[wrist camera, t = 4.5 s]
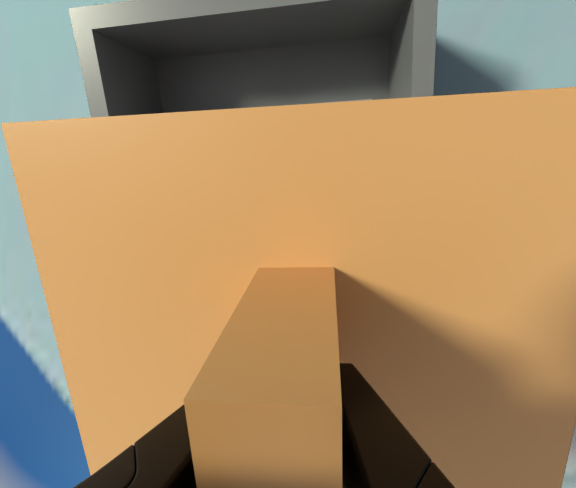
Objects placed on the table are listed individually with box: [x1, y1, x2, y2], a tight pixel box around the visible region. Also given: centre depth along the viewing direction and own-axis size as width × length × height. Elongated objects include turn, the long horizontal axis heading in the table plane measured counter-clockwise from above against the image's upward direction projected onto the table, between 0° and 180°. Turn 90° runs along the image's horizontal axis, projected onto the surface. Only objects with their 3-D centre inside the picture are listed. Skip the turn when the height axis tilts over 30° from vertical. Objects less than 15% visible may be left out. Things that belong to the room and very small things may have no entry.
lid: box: [1, 87, 576, 488], centre depth 8 cm, size 15×13×7 cm
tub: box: [69, 0, 438, 118], centre depth 17 cm, size 14×12×6 cm
